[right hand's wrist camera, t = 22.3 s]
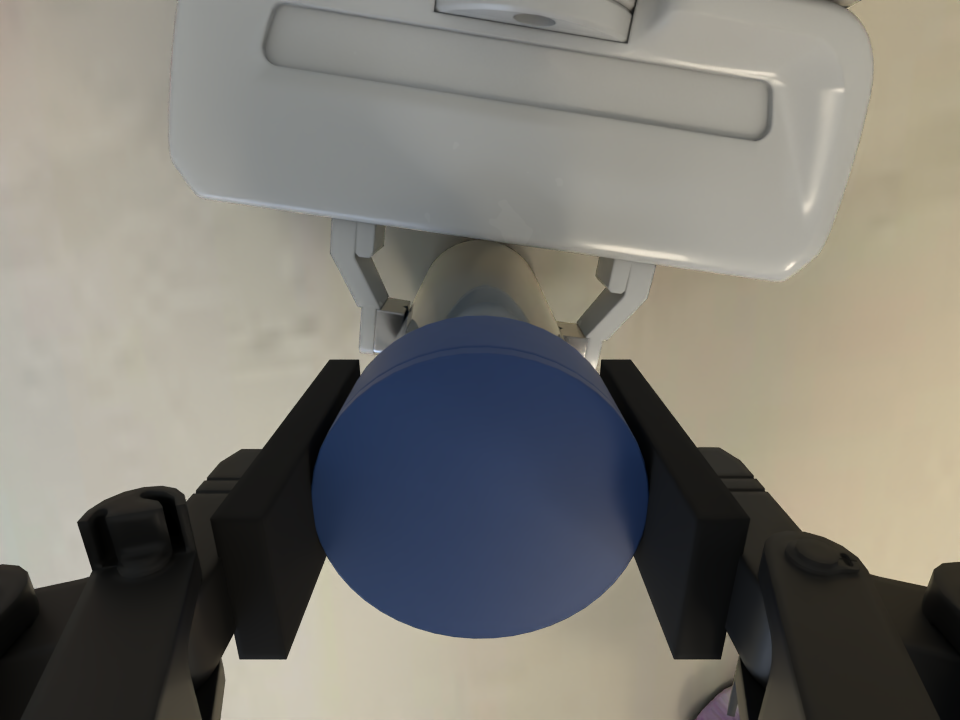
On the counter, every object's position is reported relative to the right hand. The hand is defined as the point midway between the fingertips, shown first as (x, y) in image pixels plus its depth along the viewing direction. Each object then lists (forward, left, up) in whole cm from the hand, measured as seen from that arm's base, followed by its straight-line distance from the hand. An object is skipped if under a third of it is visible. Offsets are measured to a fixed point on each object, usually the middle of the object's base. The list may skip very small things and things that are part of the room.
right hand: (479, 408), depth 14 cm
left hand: (-1, +1, -6) cm, 6 cm away
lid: (0, 0, +4) cm, 4 cm away
